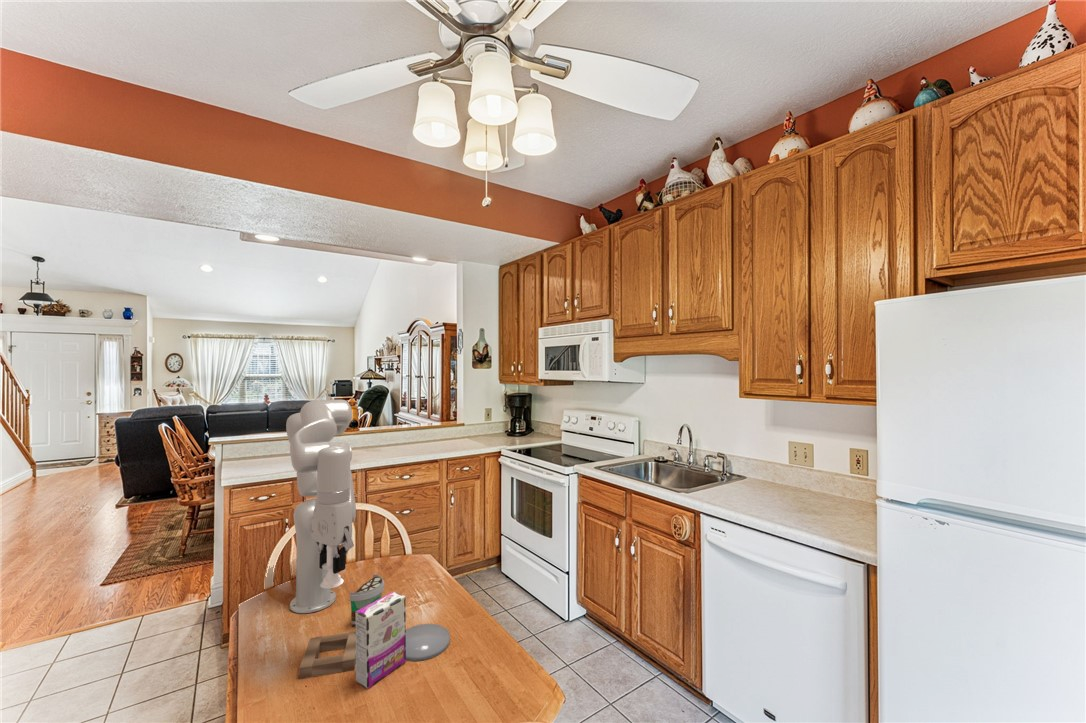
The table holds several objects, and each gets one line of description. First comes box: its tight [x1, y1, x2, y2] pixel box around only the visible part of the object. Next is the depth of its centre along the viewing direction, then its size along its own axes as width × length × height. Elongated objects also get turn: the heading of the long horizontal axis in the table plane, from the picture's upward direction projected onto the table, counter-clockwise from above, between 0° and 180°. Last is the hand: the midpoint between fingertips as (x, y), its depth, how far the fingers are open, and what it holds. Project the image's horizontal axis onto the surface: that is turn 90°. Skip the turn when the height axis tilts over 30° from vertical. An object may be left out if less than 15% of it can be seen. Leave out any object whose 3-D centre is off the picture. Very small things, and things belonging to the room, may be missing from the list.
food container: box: [348, 573, 385, 628], centre depth 129 cm, size 12×6×10 cm, turn 168°
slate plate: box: [406, 623, 451, 662], centre depth 117 cm, size 14×14×1 cm
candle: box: [320, 545, 344, 589], centre depth 112 cm, size 5×5×12 cm
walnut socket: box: [298, 631, 356, 680], centre depth 111 cm, size 12×12×2 cm
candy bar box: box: [354, 591, 407, 690], centre depth 106 cm, size 11×5×16 cm, turn 148°
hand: (332, 568), depth 112 cm, fingers closed on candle, 4 cm apart
